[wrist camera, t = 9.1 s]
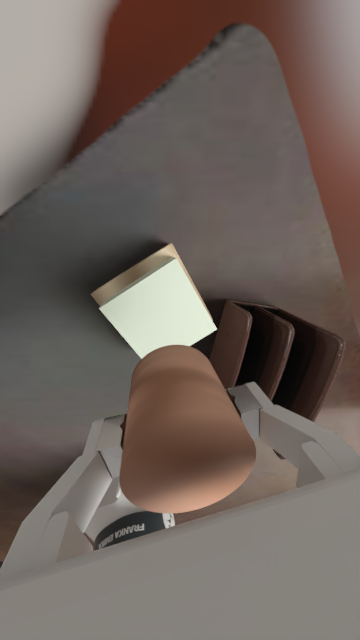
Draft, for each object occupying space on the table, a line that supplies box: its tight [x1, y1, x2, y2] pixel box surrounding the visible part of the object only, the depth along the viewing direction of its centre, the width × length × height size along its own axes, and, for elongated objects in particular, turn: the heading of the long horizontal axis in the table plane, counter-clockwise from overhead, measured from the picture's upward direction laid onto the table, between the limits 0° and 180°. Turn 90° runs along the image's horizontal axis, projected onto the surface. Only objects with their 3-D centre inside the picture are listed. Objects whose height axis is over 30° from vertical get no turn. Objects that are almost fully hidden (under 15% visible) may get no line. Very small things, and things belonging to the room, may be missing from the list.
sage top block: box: [99, 257, 217, 359], centre depth 24 cm, size 10×10×4 cm
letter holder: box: [209, 300, 346, 459], centre depth 28 cm, size 10×20×14 cm, turn 169°
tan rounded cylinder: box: [119, 345, 256, 513], centre depth 9 cm, size 5×5×5 cm
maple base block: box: [91, 243, 213, 320], centre depth 27 cm, size 12×12×4 cm
